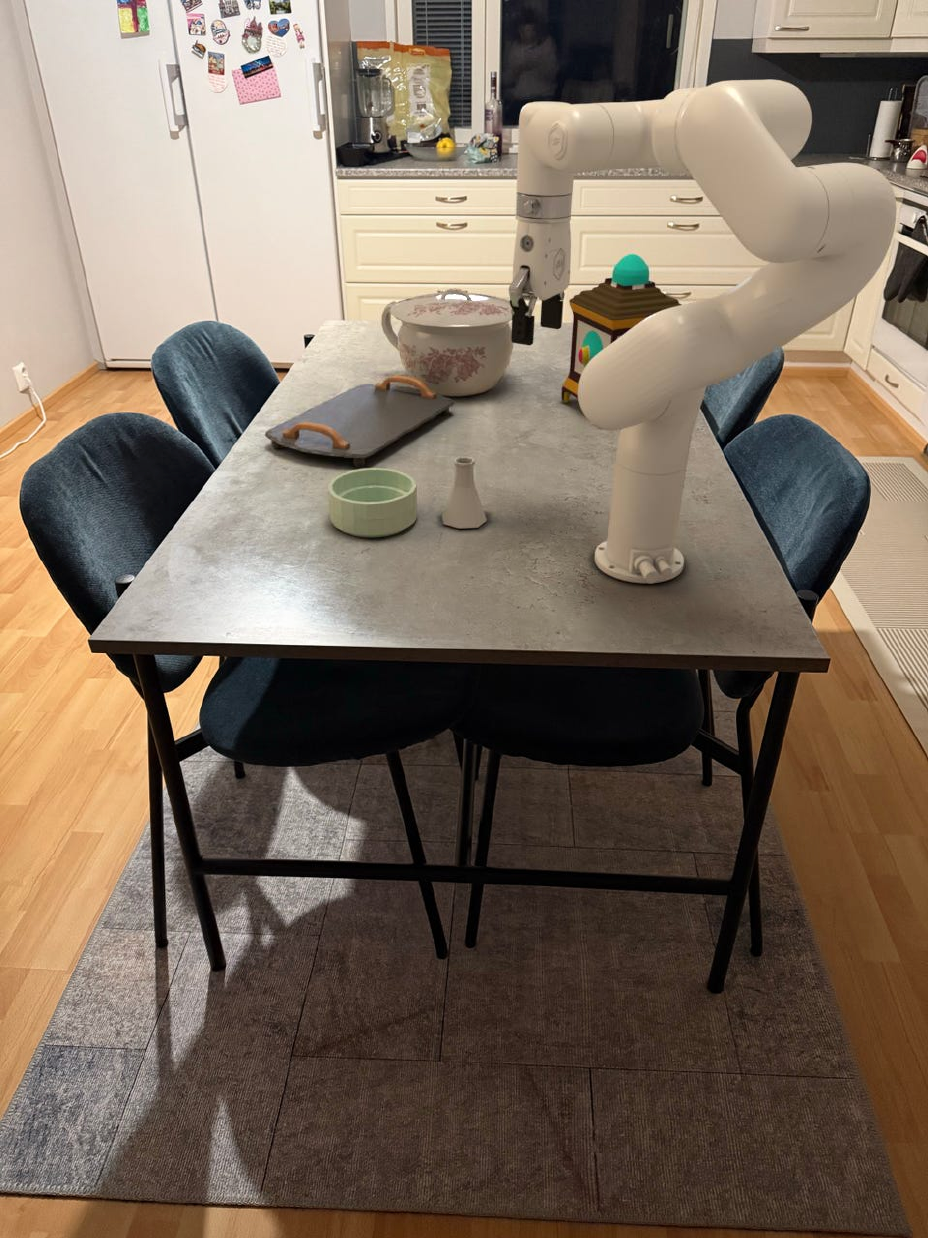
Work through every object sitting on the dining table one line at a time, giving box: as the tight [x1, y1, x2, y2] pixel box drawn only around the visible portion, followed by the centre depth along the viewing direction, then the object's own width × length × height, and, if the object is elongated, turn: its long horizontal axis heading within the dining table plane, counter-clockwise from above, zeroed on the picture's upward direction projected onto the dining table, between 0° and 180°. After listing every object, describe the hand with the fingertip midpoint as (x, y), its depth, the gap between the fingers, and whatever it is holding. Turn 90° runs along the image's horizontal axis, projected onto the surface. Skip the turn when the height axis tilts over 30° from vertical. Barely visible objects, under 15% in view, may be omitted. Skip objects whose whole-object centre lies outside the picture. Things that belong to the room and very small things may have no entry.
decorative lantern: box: [560, 253, 683, 403], centre depth 177 cm, size 20×20×30 cm
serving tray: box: [264, 375, 455, 469], centre depth 173 cm, size 39×23×6 cm, turn 152°
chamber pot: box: [380, 287, 514, 398], centre depth 191 cm, size 28×28×21 cm
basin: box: [327, 467, 418, 538], centre depth 139 cm, size 13×13×6 cm
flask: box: [441, 455, 488, 529], centre depth 139 cm, size 7×7×10 cm
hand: (536, 335), depth 131 cm, fingers open, 9 cm apart
